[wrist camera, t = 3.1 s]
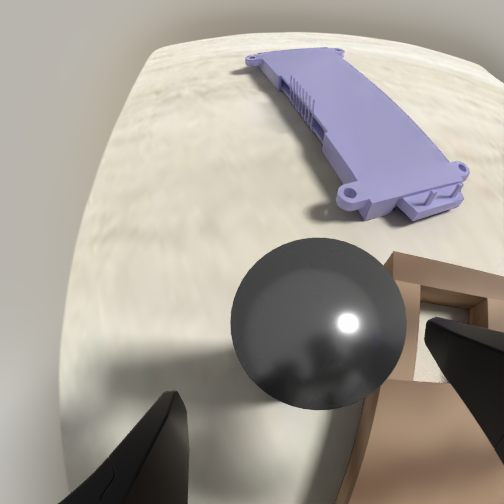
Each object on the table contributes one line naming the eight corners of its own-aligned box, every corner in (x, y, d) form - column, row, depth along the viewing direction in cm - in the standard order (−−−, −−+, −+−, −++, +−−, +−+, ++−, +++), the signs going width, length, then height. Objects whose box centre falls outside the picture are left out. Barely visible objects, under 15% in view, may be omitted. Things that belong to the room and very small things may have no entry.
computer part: (349, 248, 21) (472, 207, 22) (363, 214, 17) (492, 179, 18) (244, 71, 35) (337, 61, 36) (241, 46, 31) (339, 38, 32)
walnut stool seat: (520, 503, 7) (536, 506, 4) (318, 541, 10) (324, 558, 8) (547, 302, 15) (562, 292, 13) (381, 268, 19) (393, 251, 17)
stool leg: (316, 405, 15) (393, 419, 5) (251, 391, 16) (208, 385, 5) (329, 343, 17) (409, 254, 7) (267, 331, 18) (256, 224, 7)
